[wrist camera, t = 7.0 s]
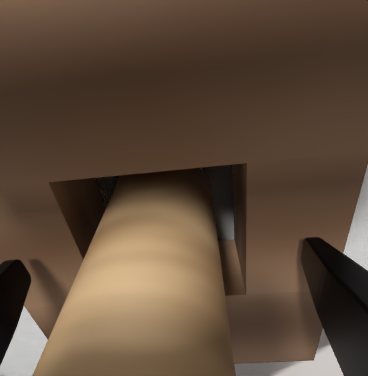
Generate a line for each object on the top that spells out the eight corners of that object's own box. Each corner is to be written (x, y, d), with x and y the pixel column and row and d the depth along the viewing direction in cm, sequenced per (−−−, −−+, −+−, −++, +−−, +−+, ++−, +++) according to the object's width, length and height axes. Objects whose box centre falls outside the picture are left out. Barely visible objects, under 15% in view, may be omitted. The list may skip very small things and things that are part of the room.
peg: (214, 226, 12) (244, 479, 6) (129, 233, 13) (59, 480, 6) (208, 146, 10) (245, 395, 3) (106, 157, 11) (-43, 404, 4)
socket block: (292, 303, 15) (313, 360, 13) (88, 315, 16) (69, 370, 14) (354, -86, 7) (453, -150, 4) (-82, -17, 8) (-215, -34, 5)
